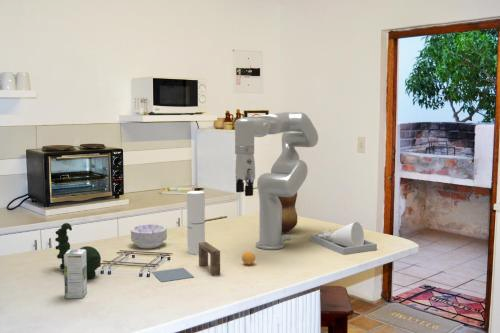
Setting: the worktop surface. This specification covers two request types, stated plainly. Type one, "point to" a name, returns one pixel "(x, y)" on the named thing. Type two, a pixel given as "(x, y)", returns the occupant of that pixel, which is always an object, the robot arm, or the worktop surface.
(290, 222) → the brown vase
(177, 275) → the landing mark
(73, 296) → the syrup box
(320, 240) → the grey rimmed tray
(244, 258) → the ball
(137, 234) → the paper bowls
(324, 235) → the rocket engine
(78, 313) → the worktop surface
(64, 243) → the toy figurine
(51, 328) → the worktop surface
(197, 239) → the cylindrical container
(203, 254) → the bridge
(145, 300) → the worktop surface
